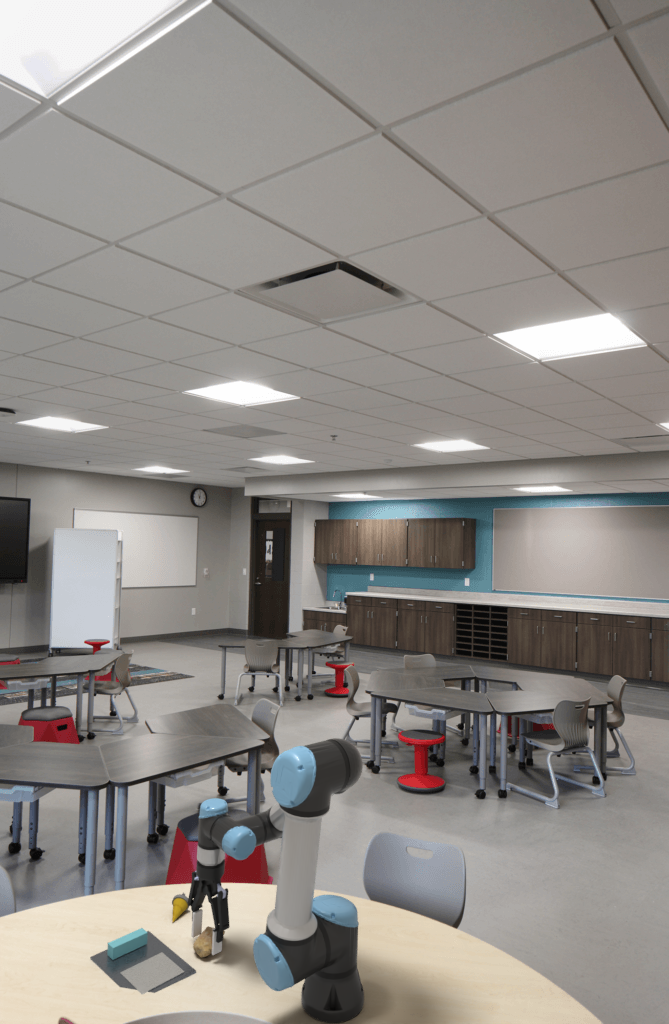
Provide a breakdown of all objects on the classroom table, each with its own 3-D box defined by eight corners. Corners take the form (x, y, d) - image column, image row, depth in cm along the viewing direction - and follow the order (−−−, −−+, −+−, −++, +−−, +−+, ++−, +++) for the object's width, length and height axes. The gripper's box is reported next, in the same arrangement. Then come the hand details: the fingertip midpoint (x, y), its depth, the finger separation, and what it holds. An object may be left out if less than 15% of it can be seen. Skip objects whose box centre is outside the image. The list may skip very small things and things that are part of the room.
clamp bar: (147, 943, 177) (147, 932, 178) (112, 959, 170) (113, 948, 170) (141, 939, 180) (142, 927, 180) (107, 954, 172) (107, 943, 173)
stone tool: (210, 941, 171) (204, 911, 180) (191, 961, 171) (186, 930, 180) (234, 954, 175) (227, 924, 184) (215, 974, 174) (209, 943, 183)
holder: (196, 974, 167) (196, 970, 167) (135, 1007, 155) (135, 1002, 155) (148, 934, 184) (148, 929, 184) (90, 960, 172) (90, 956, 172)
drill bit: (194, 889, 198) (182, 918, 188) (192, 902, 199) (180, 931, 190) (177, 884, 198) (164, 913, 189) (176, 897, 200) (163, 926, 190)
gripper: (246, 870, 171) (241, 957, 170) (200, 840, 186) (195, 919, 186) (223, 881, 165) (218, 970, 165) (177, 848, 181) (172, 930, 180)
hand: (206, 943), depth 175 cm, fingers closed on stone tool, 9 cm apart
